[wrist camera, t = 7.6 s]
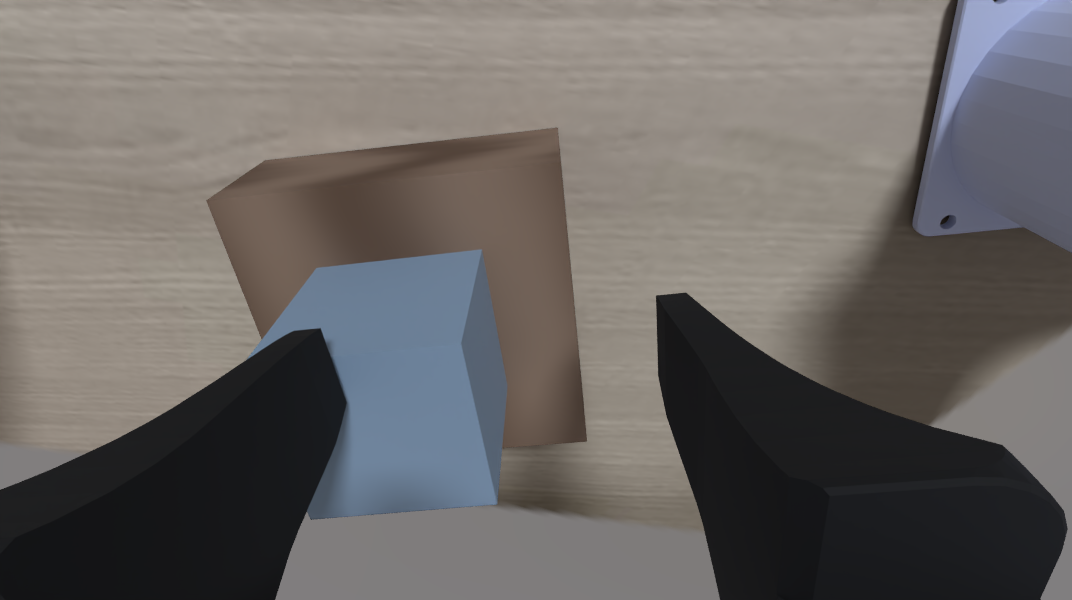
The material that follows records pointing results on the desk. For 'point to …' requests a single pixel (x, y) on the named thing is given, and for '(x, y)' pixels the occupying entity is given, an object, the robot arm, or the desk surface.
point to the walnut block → (429, 247)
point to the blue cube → (407, 383)
